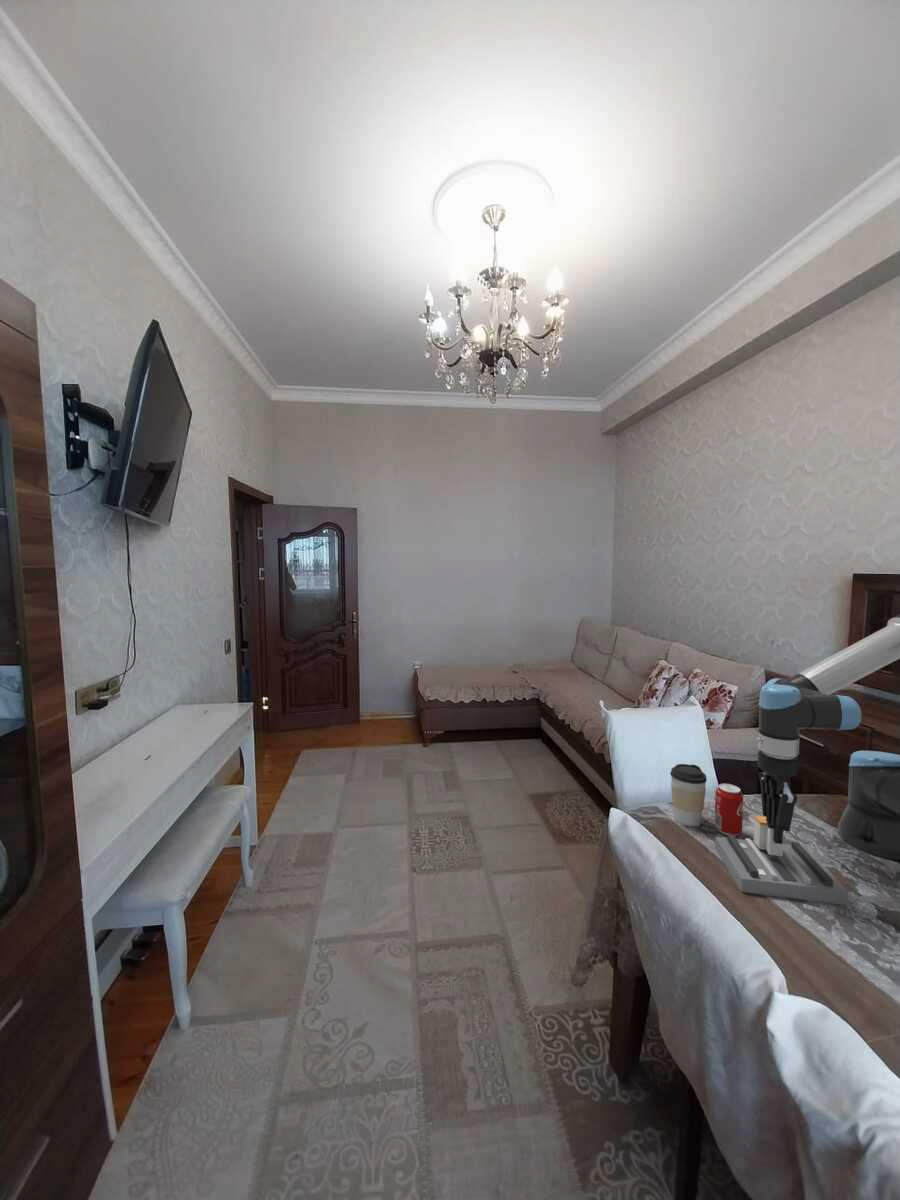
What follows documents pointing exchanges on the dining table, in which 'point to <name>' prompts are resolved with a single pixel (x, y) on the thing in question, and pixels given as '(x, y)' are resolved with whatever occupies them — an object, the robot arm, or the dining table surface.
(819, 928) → the dining table surface
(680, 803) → the coffee cup
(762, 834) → the orange-topped grey block
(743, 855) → the dark grey rail
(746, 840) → the panel
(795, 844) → the dark grey bar
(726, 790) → the beverage can
